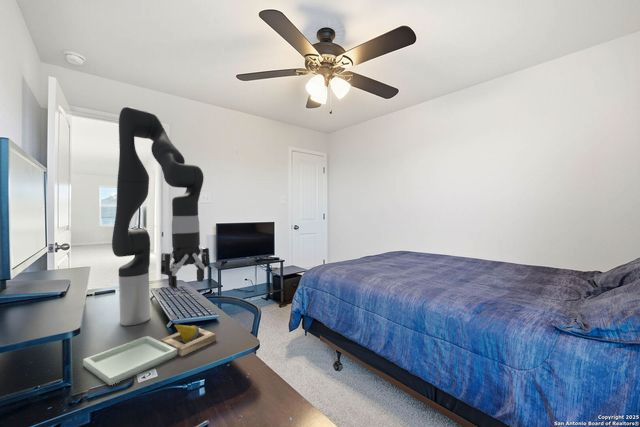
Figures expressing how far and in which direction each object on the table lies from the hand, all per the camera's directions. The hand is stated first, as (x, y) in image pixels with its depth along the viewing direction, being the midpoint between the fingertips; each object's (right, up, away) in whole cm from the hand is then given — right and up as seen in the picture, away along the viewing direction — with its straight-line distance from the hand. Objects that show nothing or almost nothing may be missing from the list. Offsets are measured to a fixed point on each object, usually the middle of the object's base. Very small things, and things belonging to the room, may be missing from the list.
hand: (187, 284), depth 87 cm
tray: (-11, -18, -9) cm, 23 cm away
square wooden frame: (0, -18, 0) cm, 18 cm away
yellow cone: (0, -18, 0) cm, 18 cm away
